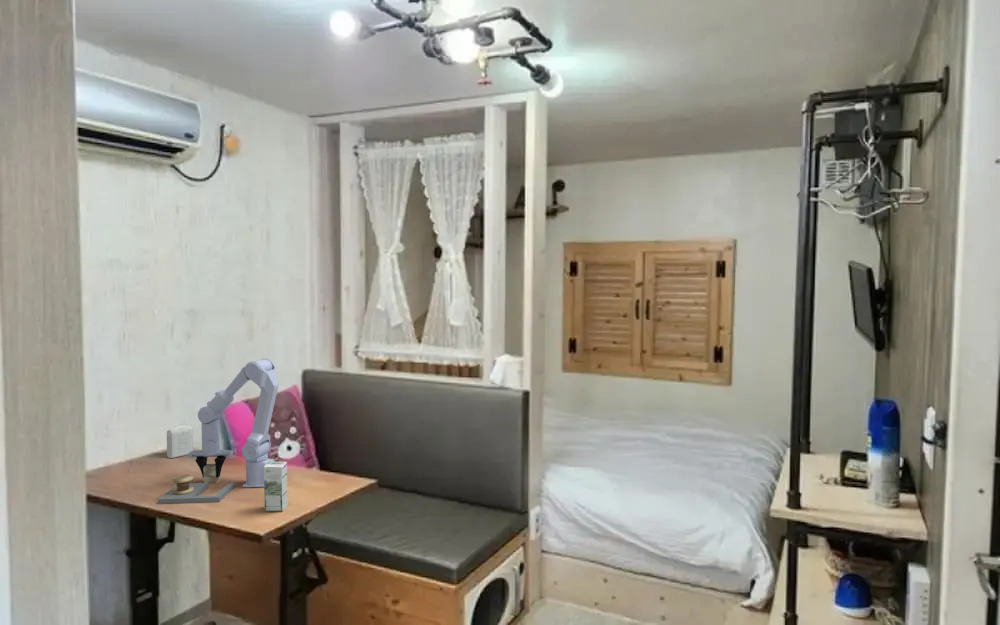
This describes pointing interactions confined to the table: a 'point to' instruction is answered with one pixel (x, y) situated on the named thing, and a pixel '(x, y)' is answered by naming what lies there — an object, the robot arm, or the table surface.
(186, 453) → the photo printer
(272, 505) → the syrup box
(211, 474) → the block
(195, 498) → the notched board
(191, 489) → the spool
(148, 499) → the table surface
